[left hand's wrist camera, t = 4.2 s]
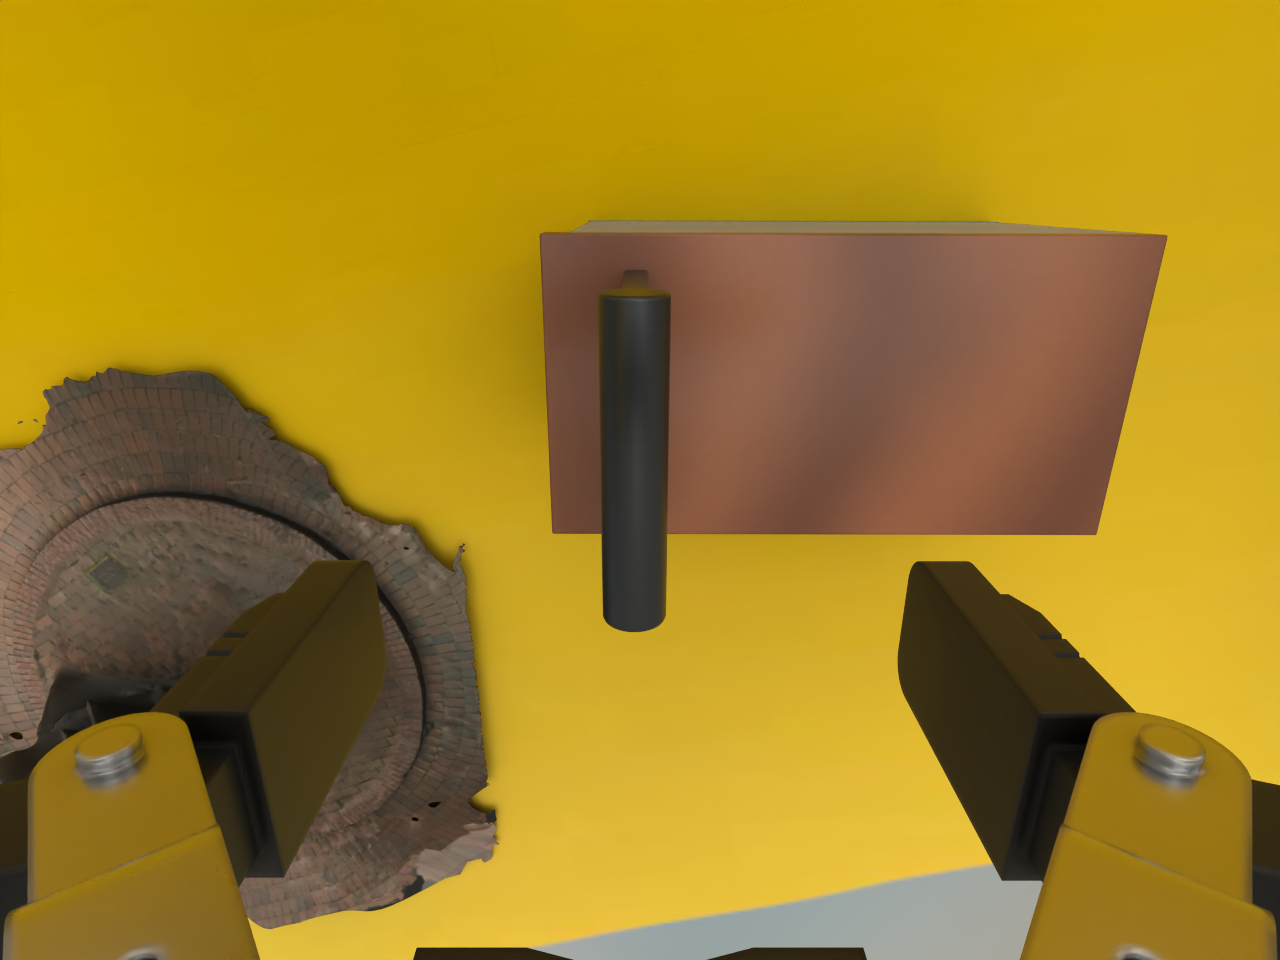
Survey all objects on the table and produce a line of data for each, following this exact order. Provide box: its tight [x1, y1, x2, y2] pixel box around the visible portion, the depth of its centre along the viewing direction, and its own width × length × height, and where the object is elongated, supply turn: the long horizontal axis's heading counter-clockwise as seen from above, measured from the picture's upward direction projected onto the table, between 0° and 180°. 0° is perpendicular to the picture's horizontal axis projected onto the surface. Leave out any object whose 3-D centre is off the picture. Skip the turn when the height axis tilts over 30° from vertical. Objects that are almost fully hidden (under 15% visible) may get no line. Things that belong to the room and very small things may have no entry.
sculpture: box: [0, 368, 499, 929], centre depth 34 cm, size 33×35×16 cm
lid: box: [540, 232, 1167, 632], centre depth 21 cm, size 18×10×8 cm, turn 90°
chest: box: [571, 221, 1143, 234], centre depth 30 cm, size 18×10×11 cm, turn 90°
